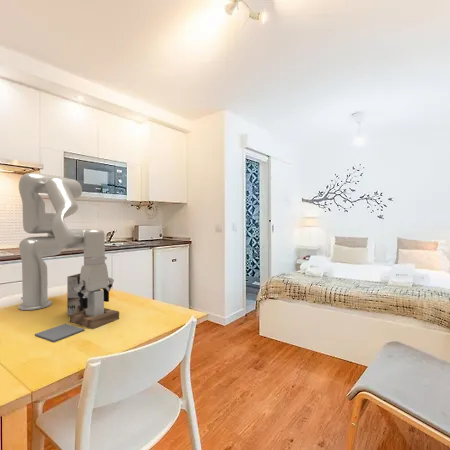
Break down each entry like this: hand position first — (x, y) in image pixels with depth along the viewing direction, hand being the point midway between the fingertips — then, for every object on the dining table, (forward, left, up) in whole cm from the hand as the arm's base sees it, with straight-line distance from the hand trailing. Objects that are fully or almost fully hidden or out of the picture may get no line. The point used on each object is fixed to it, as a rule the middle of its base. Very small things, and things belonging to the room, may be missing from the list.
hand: (95, 304), depth 113 cm
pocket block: (0, 0, -6) cm, 6 cm away
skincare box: (0, 0, -7) cm, 7 cm away
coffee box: (-14, +4, -7) cm, 16 cm away
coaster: (0, -14, -6) cm, 15 cm away
